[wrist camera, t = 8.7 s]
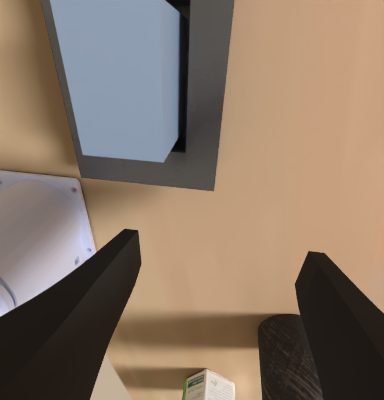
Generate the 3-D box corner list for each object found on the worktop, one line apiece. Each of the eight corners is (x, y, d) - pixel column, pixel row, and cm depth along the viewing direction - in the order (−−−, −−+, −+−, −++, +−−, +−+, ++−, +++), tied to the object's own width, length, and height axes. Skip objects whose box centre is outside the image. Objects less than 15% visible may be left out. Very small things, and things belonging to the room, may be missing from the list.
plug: (183, 128, 16) (163, 162, 11) (127, 124, 17) (82, 154, 11) (186, 18, 13) (159, -4, 8) (116, 15, 13) (48, -8, 8)
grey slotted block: (216, 168, 18) (213, 196, 15) (104, 157, 19) (75, 182, 15) (264, -281, 9) (289, -519, 5) (36, -264, 10) (-83, -460, 6)
